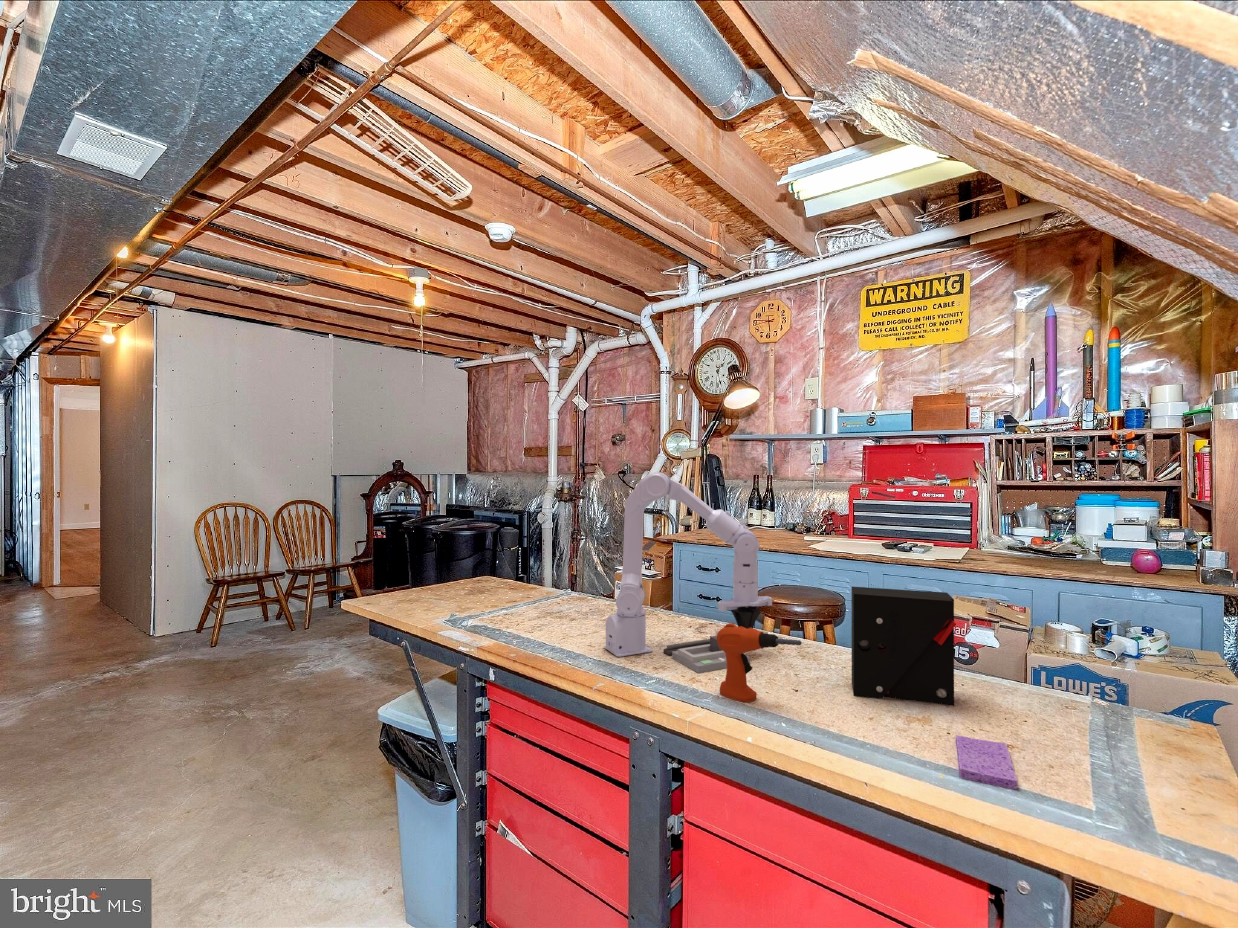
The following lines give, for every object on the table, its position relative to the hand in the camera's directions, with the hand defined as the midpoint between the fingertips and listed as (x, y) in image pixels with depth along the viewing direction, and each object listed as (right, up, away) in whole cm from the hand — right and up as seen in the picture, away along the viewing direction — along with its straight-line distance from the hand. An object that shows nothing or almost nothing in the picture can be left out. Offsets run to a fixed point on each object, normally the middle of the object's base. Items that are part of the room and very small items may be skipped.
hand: (745, 638), depth 137 cm
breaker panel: (-9, -4, -4) cm, 11 cm away
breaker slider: (-6, -2, -3) cm, 7 cm away
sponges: (+25, -5, -50) cm, 56 cm away
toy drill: (-4, -4, -27) cm, 28 cm away
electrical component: (+26, -4, -23) cm, 35 cm away
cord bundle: (-12, -4, +2) cm, 13 cm away
